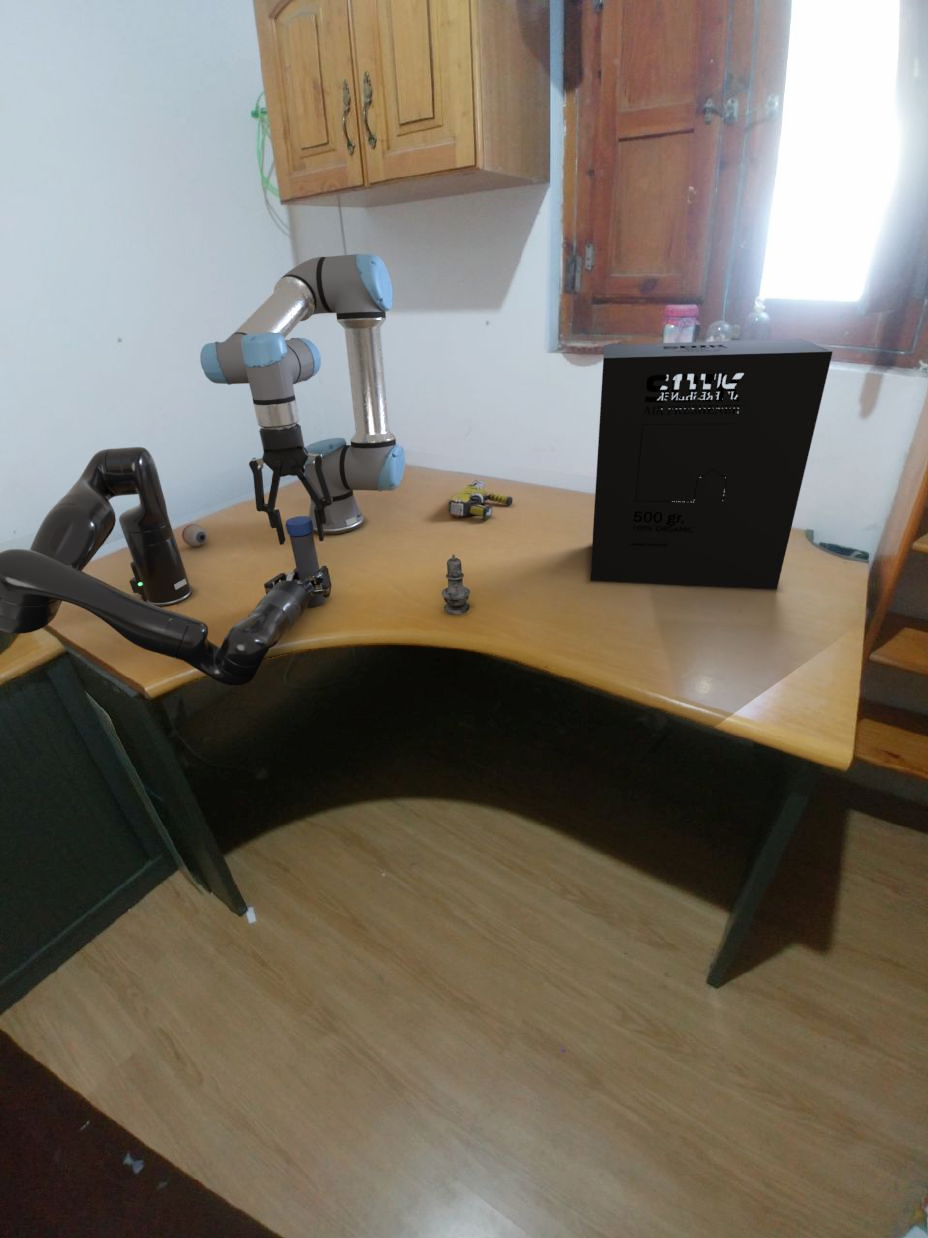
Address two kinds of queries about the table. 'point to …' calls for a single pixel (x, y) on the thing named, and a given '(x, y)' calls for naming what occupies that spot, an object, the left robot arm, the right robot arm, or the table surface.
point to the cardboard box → (703, 460)
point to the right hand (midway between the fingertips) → (302, 540)
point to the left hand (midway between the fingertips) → (314, 569)
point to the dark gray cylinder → (306, 561)
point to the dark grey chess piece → (455, 588)
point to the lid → (299, 526)
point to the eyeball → (194, 535)
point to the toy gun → (475, 501)
